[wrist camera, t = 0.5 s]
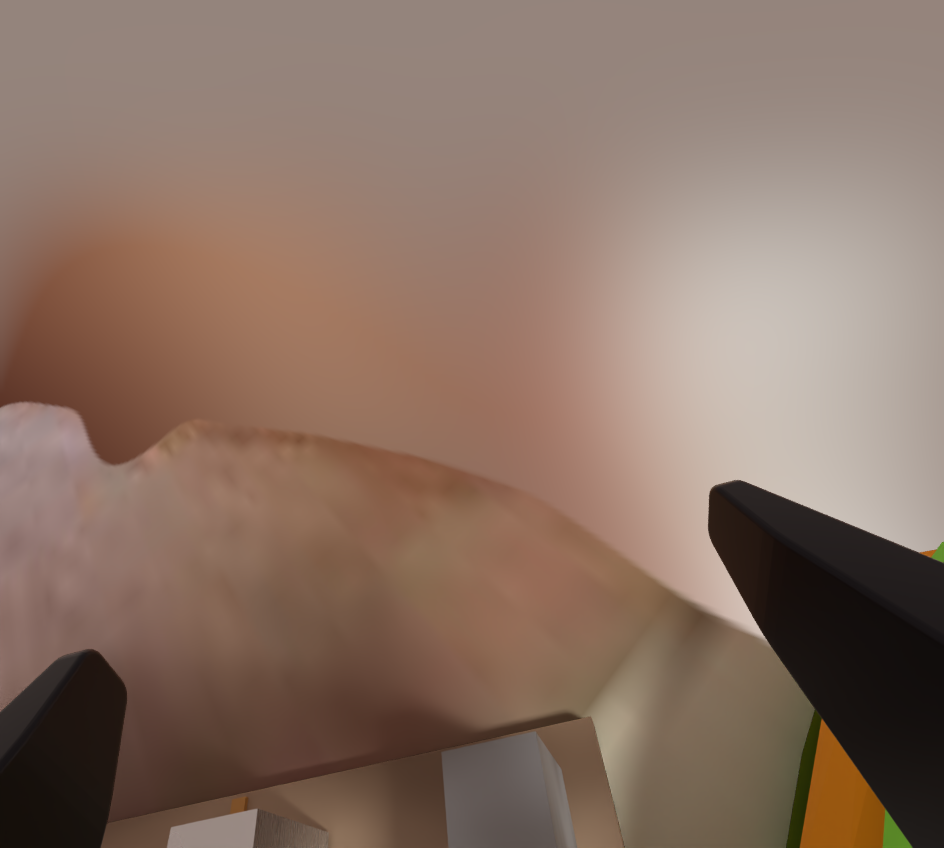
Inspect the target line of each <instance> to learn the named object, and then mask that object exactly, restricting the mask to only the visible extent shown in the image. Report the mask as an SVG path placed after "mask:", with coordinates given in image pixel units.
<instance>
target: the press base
mask: <svg viewBox="0 0 944 848" xmlns="http://www.w3.org/2000/svg"><path fill="white" fill-rule="evenodd" d="M257 808H258V809H261V810H264V811H267V812H270V813H273V814H276V815H278V816H281V817H284V818H287V819H290V820H293V821H296V822H299V823H302V824H305V825H308V826H311V827H314V828H317V829H320V830H323V831H326V832H329V839H328V848H625V847H624V843H623V839H622V835H621V831H620V827H619V823H618V819H617V815H616V811H615V807H614V803H613V799H612V795H611V791H610V787H609V783H608V779H607V775H606V771H605V767H604V763H603V759H602V755H601V751H600V747H599V743H598V739H597V735H596V731H595V727H594V724H593V721H592V719H591V716H590V717H586V718H581V719H577V720H572V721H568V722H563V723H559V724H554V725H550V726H545V727H540V728H536V729H531V730H527V731H522V732H518V733H513V734H509V735H504V736H500V737H495V738H491V739H486V740H482V741H477V742H472V743H468V744H463V745H459V746H454V747H450V748H445V749H441V750H436V751H432V752H427V753H423V754H418V755H414V756H409V757H405V758H400V759H395V760H391V761H386V762H382V763H377V764H373V765H368V766H364V767H359V768H355V769H350V770H346V771H341V772H337V773H332V774H327V775H323V776H318V777H314V778H309V779H305V780H300V781H296V782H291V783H287V784H282V785H278V786H273V787H269V788H264V789H260V790H255V791H250V792H246V793H241V794H237V795H232V796H228V797H223V798H219V799H214V800H210V801H205V802H201V803H196V804H192V805H187V806H182V807H178V808H173V809H169V810H164V811H160V812H155V813H151V814H146V815H142V816H137V817H133V818H128V819H124V820H119V821H115V822H110V823H107V824H106V829H105V833H104V837H103V841H102V845H101V848H167V845H168V840H169V835H170V830H171V827H174V826H179V825H184V824H188V823H193V822H197V821H202V820H207V819H211V818H216V817H221V816H225V815H230V814H234V813H239V812H244V811H248V810H253V809H257Z"/></svg>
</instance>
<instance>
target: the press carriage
mask: <svg viewBox="0 0 944 848" xmlns="http://www.w3.org/2000/svg"><path fill="white" fill-rule="evenodd" d="M328 839H329V832H326V831H323V830H320V829H317V828H314V827H311V826H308V825H305V824H302V823H299V822H296V821H293V820H290V819H287V818H284V817H281V816H278V815H276V814H273V813H270V812H267V811H264V810H261V809H258V808H257V809H253V810H248V811H244V812H239V813H234V814H230V815H225V816H221V817H216V818H211V819H207V820H202V821H197V822H193V823H188V824H184V825H179V826H174V827H171V830H170V835H169V840H168V845H167V848H328Z"/></svg>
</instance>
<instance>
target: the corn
mask: <svg viewBox="0 0 944 848" xmlns="http://www.w3.org/2000/svg"><path fill="white" fill-rule="evenodd" d="M920 553H921V554H924V555H926V556H929V557H931V558H933V559H936V560H938V561H941V562H943V563H944V542H942V543H941V545H940V546H939V547H938V549H936V550H931V551H925V552H920ZM786 848H912V846H911V845H910V843H909V842H908V841H907V839H906V838H905V836H904V835H903V833H902V832H901V831H900V829H899V828H898V826H897V825H896V823H895V822H894V821H893V819H892V818H891V816H890V815H889V813H888V812H887V811H886V809H885V808H884V806H883V805H882V803H881V802H880V801H879V799H878V798H877V796H876V795H875V794H874V792H873V791H872V789H871V788H870V786H869V785H868V784H867V782H866V781H865V779H864V778H863V776H862V775H861V774H860V772H859V771H858V769H857V768H856V766H855V765H854V764H853V762H852V761H851V759H850V758H849V756H848V755H847V754H846V752H845V751H844V749H843V748H842V747H841V745H840V744H839V742H838V741H837V739H836V738H835V737H834V735H833V734H832V732H831V731H830V729H829V728H828V727H827V725H826V724H825V722H824V721H823V719H822V718H821V717H820V715H819V714H818V712H817V711H816V709H815V712H814V715H813V719H812V722H811V726H810V729H809V732H808V736H807V739H806V742H805V746H804V749H803V753H802V757H801V763H800V769H799V775H798V781H797V787H796V792H795V798H794V804H793V810H792V816H791V822H790V828H789V834H788V840H787V846H786Z"/></svg>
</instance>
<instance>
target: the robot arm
mask: <svg viewBox="0 0 944 848" xmlns="http://www.w3.org/2000/svg"><path fill="white" fill-rule="evenodd" d="M708 531H709V536H710V539H711V541H712V544H713V546H714V547H715V549H716V551H717V553H718V555H719V556H720V558H721V560H722V562H723V564H724V565H725V567H726V569H727V571H728V573H729V574H730V576H731V578H732V580H733V582H734V583H735V585H736V587H737V589H738V591H739V592H740V594H741V596H742V598H743V600H744V601H745V603H746V605H747V607H748V609H749V611H750V612H751V614H752V616H753V618H754V619H755V621H756V623H757V625H758V626H759V628H760V630H761V631H762V633H763V635H764V636H765V638H766V639H767V641H768V642H769V644H770V645H771V647H772V648H773V650H774V651H775V652H776V654H777V655H778V657H779V658H780V660H781V661H782V662H783V664H784V665H785V667H786V668H787V670H788V671H789V672H790V674H791V675H792V677H793V678H794V680H795V681H796V682H797V684H798V685H799V687H800V688H801V690H802V691H803V692H804V694H805V695H806V697H807V698H808V699H809V701H810V702H811V704H812V705H813V707H814V708H815V709H816V711H817V712H818V714H819V715H820V717H821V718H822V719H823V721H824V722H825V724H826V725H827V727H828V728H829V729H830V731H831V732H832V734H833V735H834V737H835V738H836V739H837V741H838V742H839V744H840V745H841V747H842V748H843V749H844V751H845V752H846V754H847V755H848V756H849V758H850V759H851V761H852V762H853V764H854V765H855V766H856V768H857V769H858V771H859V772H860V774H861V775H862V776H863V778H864V779H865V781H866V782H867V784H868V785H869V786H870V788H871V789H872V791H873V792H874V794H875V795H876V796H877V798H878V799H879V801H880V802H881V803H882V805H883V806H884V808H885V809H886V811H887V812H888V813H889V815H890V816H891V818H892V819H893V821H894V822H895V823H896V825H897V826H898V828H899V829H900V831H901V832H902V833H903V835H904V836H905V838H906V839H907V841H908V842H909V843H910V845H911V846H912V848H944V563H943V562H941V561H938V560H936V559H933V558H931V557H929V556H926V555H924V554H921V553H919V552H916V551H914V550H911V549H909V548H906V547H904V546H902V545H899V544H897V543H894V542H892V541H889V540H887V539H884V538H882V537H879V536H877V535H874V534H872V533H869V532H867V531H865V530H862V529H860V528H857V527H855V526H852V525H850V524H847V523H845V522H843V521H840V520H838V519H835V518H833V517H830V516H828V515H825V514H823V513H820V512H818V511H816V510H813V509H811V508H808V507H806V506H803V505H801V504H798V503H796V502H793V501H791V500H788V499H786V498H784V497H781V496H779V495H776V494H774V493H771V492H769V491H766V490H764V489H762V488H759V487H757V486H754V485H752V484H749V483H747V482H744V481H741V480H734V481H730V482H726V483H722V484H718V485H715V486H714V487H712V489H711V491H710V495H709V516H708ZM126 704H127V691H126V687H125V685H124V683H123V681H122V680H121V678H120V677H119V676H118V675H117V674H116V672H115V671H114V670H113V669H112V667H111V666H110V665H109V664H108V662H107V661H106V660H105V659H104V657H103V656H102V655H101V654H100V653H99V652H98V651H96V650H93V649H86V650H82V651H79V652H75V653H71V654H67V655H64V656H62V657H60V658H58V659H57V660H56V661H55V662H53V663H52V664H51V665H50V666H49V667H48V668H47V669H46V670H45V671H44V672H43V673H42V674H41V675H40V676H39V677H37V678H36V679H35V680H34V681H33V682H32V683H31V684H30V685H29V686H28V687H27V688H26V689H25V690H24V691H22V692H21V693H20V694H19V695H18V696H17V697H16V698H15V699H14V700H13V701H12V702H11V703H10V704H9V705H7V706H6V707H5V708H4V709H3V710H2V711H1V712H0V848H101V845H102V841H103V837H104V833H105V829H106V824H107V820H108V816H109V811H110V805H111V800H112V795H113V788H114V782H115V775H116V769H117V762H118V756H119V749H120V743H121V736H122V730H123V723H124V717H125V710H126Z"/></svg>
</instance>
